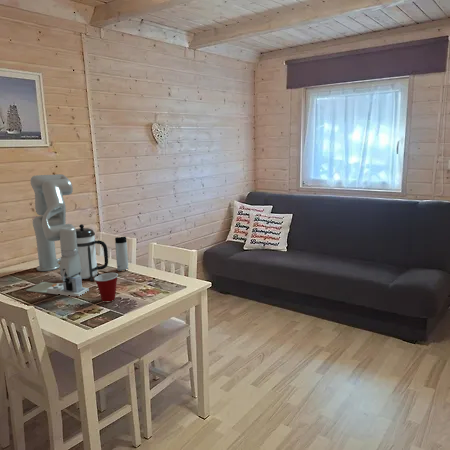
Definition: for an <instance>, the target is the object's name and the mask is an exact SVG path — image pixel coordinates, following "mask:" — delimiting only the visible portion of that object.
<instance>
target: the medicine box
mask: <svg viewBox="0 0 450 450" xmlns="http://www.w3.org/2000/svg"><path fill="white" fill-rule="evenodd" d="M67 279H68V280H69V278H67ZM82 280H83V279H81V275H74V276H71V283H72V288H73V290H72V291H69V290H66V283H65V282H64V281H63V280H62V283H63V287H64V291H65V292H74V293H79V292H81V291H82V290H83V289H82V287H83V283H82V282H83V281H82Z"/></svg>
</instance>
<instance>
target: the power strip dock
mask: <svg viewBox="0 0 450 450" xmlns="http://www.w3.org/2000/svg"><path fill="white" fill-rule="evenodd" d="M82 289H83V290H82V291H81V292H79V293H74V292H65V291H64V287H63V282H57V284H53V285H52V286H51V287H49V288H47V293H46V294H51V295H58V294H60V295H62V296H67V295H70V296H69V297H76V296H79V297H81V296H83V295H84V294H86V293H87V291H88V292H89V291H90V289H89V287H83V286H82ZM85 292H86V293H85ZM82 294H83V295H82ZM80 295H81V296H80Z"/></svg>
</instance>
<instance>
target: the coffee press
mask: <svg viewBox="0 0 450 450" xmlns="http://www.w3.org/2000/svg"><path fill="white" fill-rule="evenodd" d="M75 229H76V236H77V247H78V255H79V259H80V264H81V269H82V271H81V273H80V275H81V279H82V280H83V279H84V280H85V279H89V280H90V282H95V280H94V278H95V277H96V276H97V275H100V273H99V271H100V270H104V269H106V268H107V267H108V264H109V255H108V254H109V253H108V246H107V244H106V243H105V242H104V241H102V240H99V239H98V240H96V238H95V235H96V232H95V231H94V230H93V229H92V228H88V227H84V224H82V223H81V224H80V225H79V228H75ZM96 244H97V245H100V246H102V249H103V257H104V264H103V265H100V266H99V265H98V263H97V252H96ZM98 270H99V271H98Z"/></svg>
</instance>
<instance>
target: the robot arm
mask: <svg viewBox="0 0 450 450" xmlns="http://www.w3.org/2000/svg"><path fill="white" fill-rule="evenodd" d="M29 181H30V186H31V188H32V190H33V192H34V209H35V213H36V214H37V215H38V216H35V217H34V218H33V219H32V227H33V230H34V235H35V240H36V247H37V248H36V249H37V257H38V266H37V267H36V271H38V272H50V271H55V270H57V269H60V270H59V272H60V273H59V274H60V277H61V278H60V280H61V281H62V282H63V281H64V282H65V283H66V290H69V291H72V290H73V288H72V283H71V276H74V275H80V273H81V271H82V269H81V264H80V259H79V255H78V247H77V236H76V229H77V228H76V227H75V226H74V225H73V224H72V223H67V221H66V220H67V219H66V216H67V214H66V213H67V212H66V211H67V209H66V208H67V205H66V202H65V200H64V197H63V196H70V195H71V194H72V193H73V189H74V188H73V184H72V181H70V179H69V178H68V177H67V176H66V175H65V174H57V173H56V174H39V175H38V174H37V175H33V176H32V177H30V180H29ZM58 241H59V243H60V252H61V256H60V257H59V258H57V254H56V253H57V252H56V243H55V242H58ZM67 278H69V280H68V279H67Z"/></svg>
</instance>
